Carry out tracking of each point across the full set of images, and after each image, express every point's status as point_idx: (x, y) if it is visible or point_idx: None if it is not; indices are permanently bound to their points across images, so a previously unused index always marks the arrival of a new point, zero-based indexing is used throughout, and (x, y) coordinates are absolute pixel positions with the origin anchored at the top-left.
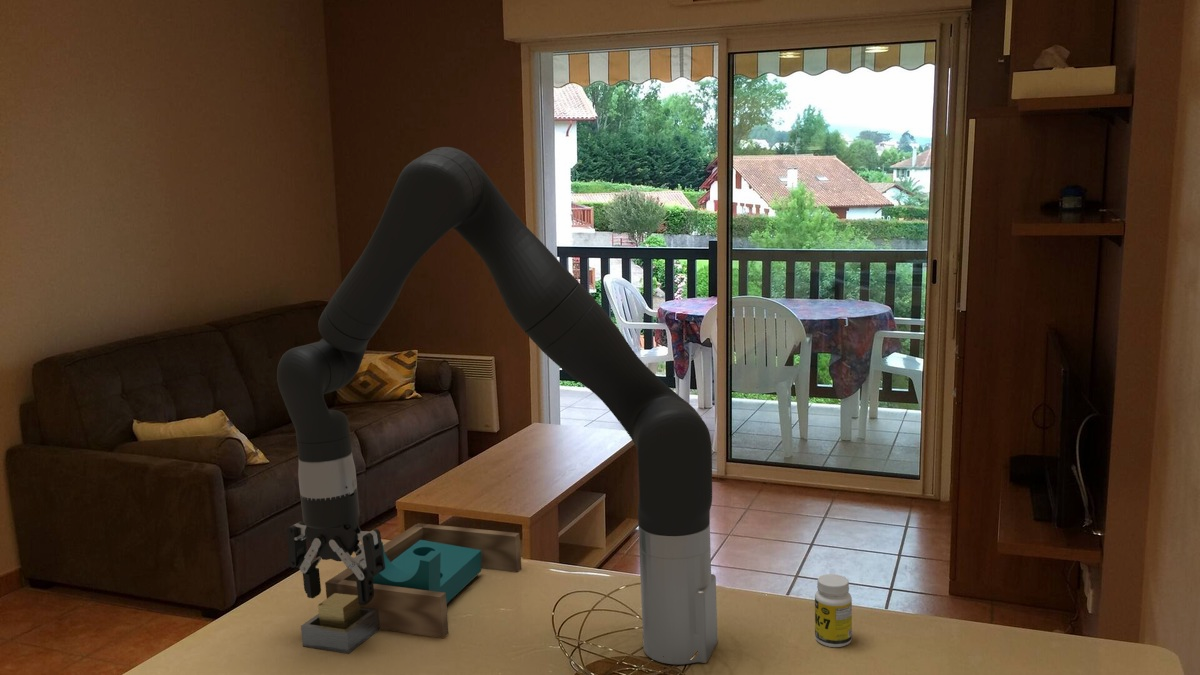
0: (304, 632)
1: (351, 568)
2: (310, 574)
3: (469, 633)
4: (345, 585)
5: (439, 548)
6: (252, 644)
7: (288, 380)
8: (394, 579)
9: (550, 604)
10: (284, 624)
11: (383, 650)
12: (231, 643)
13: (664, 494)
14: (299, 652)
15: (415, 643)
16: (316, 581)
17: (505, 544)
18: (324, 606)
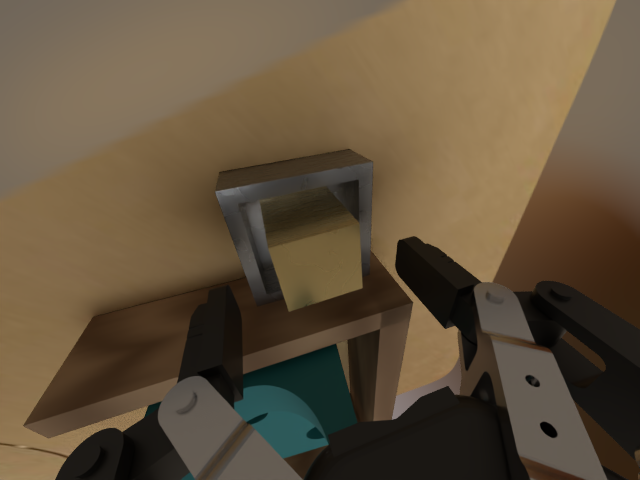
0: (355, 159)
1: (241, 423)
2: (452, 293)
3: (68, 351)
4: (356, 319)
5: (310, 443)
6: (460, 105)
7: None
8: (255, 391)
9: (65, 449)
10: (437, 201)
11: (157, 223)
12: (505, 87)
13: None
14: (338, 122)
15: (124, 277)
16: (421, 286)
17: None
18: (335, 228)
